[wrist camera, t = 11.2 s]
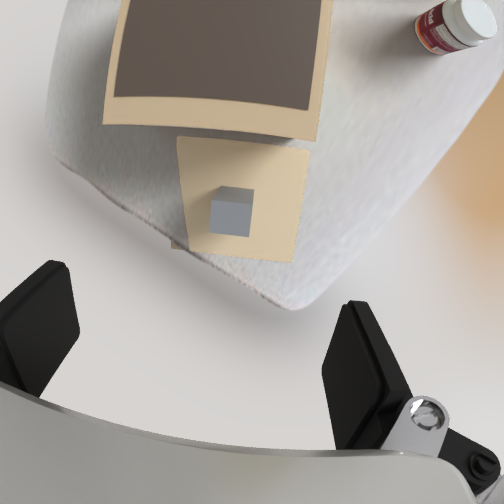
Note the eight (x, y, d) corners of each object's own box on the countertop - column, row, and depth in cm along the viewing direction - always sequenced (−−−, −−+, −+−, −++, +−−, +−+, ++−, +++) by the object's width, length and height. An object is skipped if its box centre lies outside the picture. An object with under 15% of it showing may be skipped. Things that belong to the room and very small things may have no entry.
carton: (173, -11, 21) (139, -59, 11) (313, -1, 21) (337, -52, 12) (152, 124, 26) (101, 126, 17) (295, 138, 26) (315, 143, 17)
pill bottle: (425, 6, 20) (468, -19, 12) (457, 38, 21) (506, 24, 13) (405, 30, 22) (448, 7, 14) (439, 64, 23) (489, 52, 15)
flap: (178, 135, 27) (156, 138, 21) (309, 149, 27) (323, 156, 21) (172, 246, 31) (152, 275, 25) (291, 260, 31) (298, 293, 25)
